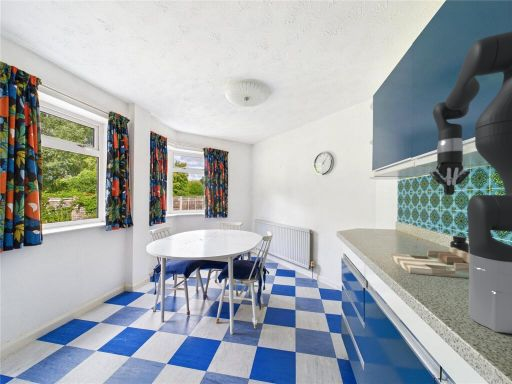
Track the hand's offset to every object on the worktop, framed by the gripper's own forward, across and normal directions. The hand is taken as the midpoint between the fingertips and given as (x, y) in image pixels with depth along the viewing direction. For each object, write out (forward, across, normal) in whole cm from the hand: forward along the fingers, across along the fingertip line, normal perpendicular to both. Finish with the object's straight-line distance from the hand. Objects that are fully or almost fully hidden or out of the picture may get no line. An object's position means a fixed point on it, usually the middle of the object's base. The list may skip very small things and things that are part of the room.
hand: (449, 194), depth 84 cm
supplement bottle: (+33, +20, +27) cm, 47 cm away
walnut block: (+30, +7, +12) cm, 34 cm away
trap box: (+33, 0, +11) cm, 35 cm away
